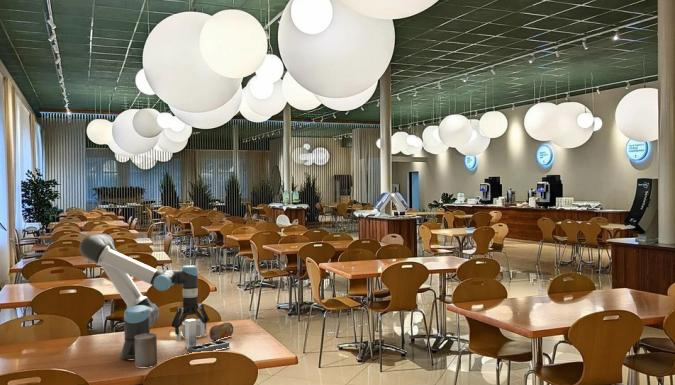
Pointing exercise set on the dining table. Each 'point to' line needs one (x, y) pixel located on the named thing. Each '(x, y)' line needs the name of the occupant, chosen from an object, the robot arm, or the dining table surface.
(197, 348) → the grey compartment tray
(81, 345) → the dining table surface
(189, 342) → the zinc square peg
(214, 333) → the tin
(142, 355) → the pillar candle
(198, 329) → the lumpy-topped squat cylinder
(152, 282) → the robot arm
